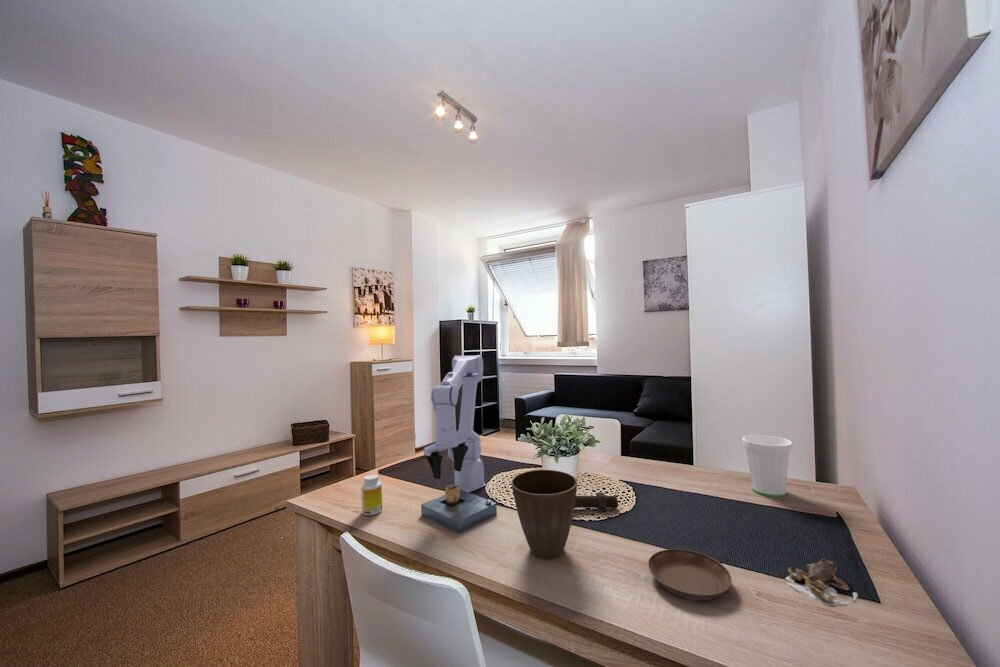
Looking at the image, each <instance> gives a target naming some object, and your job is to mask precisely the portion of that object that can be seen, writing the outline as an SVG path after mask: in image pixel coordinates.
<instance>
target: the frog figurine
mask: <svg viewBox="0 0 1000 667" xmlns="http://www.w3.org/2000/svg"><path fill="white" fill-rule="evenodd" d="M806 568H807V569H808V572H805V571H804V570H802V569H800V568H795V572H794V571H793V569H792V567H791V566H790V567H789V568H788V567H786V569H787V571H788V573H789V575H788V576H786V577H785V578H784V579H785V580H786V581H789V582H786V584H787V585H788V586H789V587H790V588H791V589H792V590H795V591H797V592H798V593H801V592H803V593H804V594H805V595H808V596H810V598H811V599H813V600H815V601H818V602H820V603H821V604H823V605H826V606H847V605H851V604H853V603H857V600H858V598H859V595H858V593H857V592H856V591H855V592H852V596H853V597H854V598H853V601H851V602H850V601H842V600H833V598H832V597H839V598H841V597H842V596H841V594H839V593H838V591H837V590H836V589H835V588H838V589H840V590H841V589H842V590H844V591H848V590H850V588H849V586H848V584H846V582H844V580H842V579H841V578H839V577H838V576H836V575H835V572H837V564H836V563H835V562H834V561H833V560H828V559H827V558H825V557H822V558H821V559H820V560H819V561H818V562H812V563H809V564H808V563H807V564H806ZM802 579H804V580H805V581H804V584H803V585H800V584H794V583H795V582H796V581H802ZM832 580H833V581H835V582H829V581H832ZM791 582H792V583H791ZM832 586H833V587H832ZM834 587H835V588H834Z"/></svg>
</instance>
